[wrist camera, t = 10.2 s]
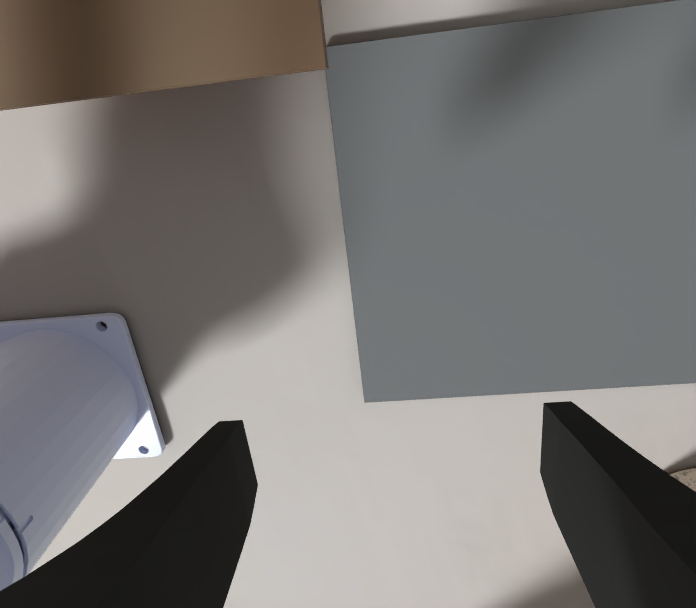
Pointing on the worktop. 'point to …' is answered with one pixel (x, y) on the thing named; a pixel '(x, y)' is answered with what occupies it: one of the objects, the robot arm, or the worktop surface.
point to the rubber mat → (521, 203)
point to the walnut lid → (149, 45)
